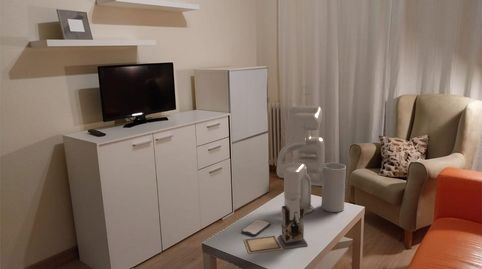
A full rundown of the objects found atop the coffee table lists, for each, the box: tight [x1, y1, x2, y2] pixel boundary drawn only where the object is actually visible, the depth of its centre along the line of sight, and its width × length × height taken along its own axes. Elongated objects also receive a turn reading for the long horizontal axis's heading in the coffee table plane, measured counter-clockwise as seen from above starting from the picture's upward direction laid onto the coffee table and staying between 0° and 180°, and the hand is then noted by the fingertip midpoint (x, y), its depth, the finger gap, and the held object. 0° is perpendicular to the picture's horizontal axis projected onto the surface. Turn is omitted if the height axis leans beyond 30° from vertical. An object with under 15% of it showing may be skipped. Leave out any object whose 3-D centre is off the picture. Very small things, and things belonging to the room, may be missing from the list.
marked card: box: [243, 234, 284, 255], centre depth 176 cm, size 13×16×1 cm
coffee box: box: [281, 205, 305, 243], centre depth 176 cm, size 9×6×16 cm
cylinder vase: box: [321, 162, 347, 213], centre depth 209 cm, size 12×12×25 cm
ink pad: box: [277, 234, 309, 250], centre depth 178 cm, size 11×11×2 cm
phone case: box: [241, 219, 271, 238], centre depth 192 cm, size 9×2×16 cm
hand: (292, 228), depth 176 cm, fingers closed on coffee box, 6 cm apart
